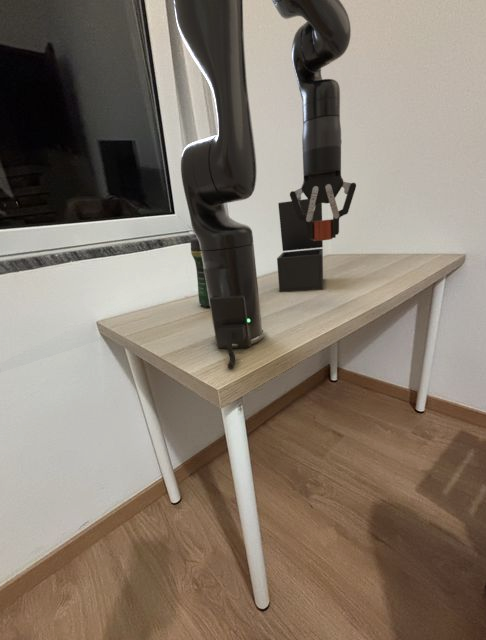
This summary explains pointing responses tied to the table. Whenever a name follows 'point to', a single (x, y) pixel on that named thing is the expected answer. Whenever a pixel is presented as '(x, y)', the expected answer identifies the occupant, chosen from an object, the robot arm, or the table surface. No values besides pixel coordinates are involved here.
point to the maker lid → (297, 226)
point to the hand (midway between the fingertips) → (322, 238)
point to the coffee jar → (200, 272)
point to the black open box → (300, 270)
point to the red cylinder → (322, 230)
